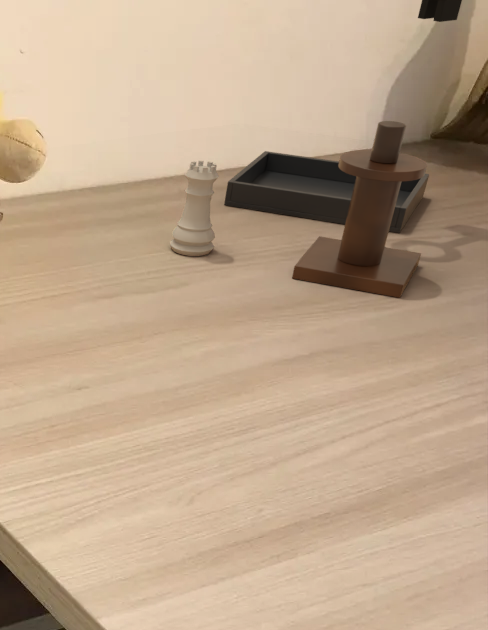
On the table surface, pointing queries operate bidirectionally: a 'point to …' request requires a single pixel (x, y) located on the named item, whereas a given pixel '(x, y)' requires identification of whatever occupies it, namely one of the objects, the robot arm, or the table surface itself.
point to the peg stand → (368, 222)
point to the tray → (309, 189)
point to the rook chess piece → (196, 212)
